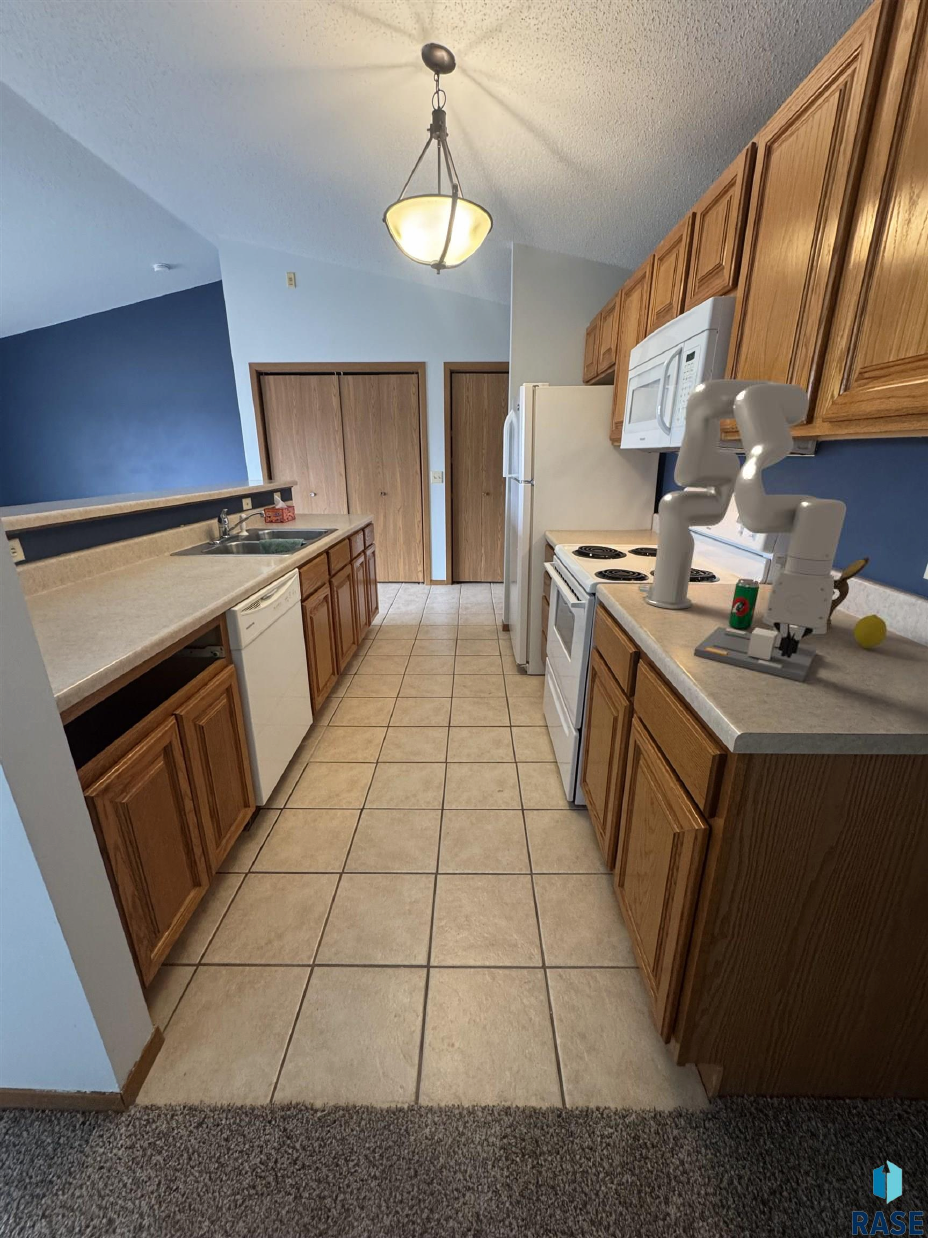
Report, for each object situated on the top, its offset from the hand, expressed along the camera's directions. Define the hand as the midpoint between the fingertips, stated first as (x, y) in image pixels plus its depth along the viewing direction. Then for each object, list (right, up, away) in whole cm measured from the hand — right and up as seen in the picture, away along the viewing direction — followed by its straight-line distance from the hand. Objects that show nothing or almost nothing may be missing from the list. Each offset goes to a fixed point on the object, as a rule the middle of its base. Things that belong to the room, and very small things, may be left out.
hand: (786, 655), depth 100 cm
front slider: (-3, 0, +3) cm, 5 cm away
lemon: (+25, 0, +12) cm, 28 cm away
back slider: (+5, +2, +8) cm, 10 cm away
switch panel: (-2, 0, +8) cm, 8 cm away
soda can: (+4, +5, +25) cm, 26 cm away
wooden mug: (+26, +6, +26) cm, 37 cm away
